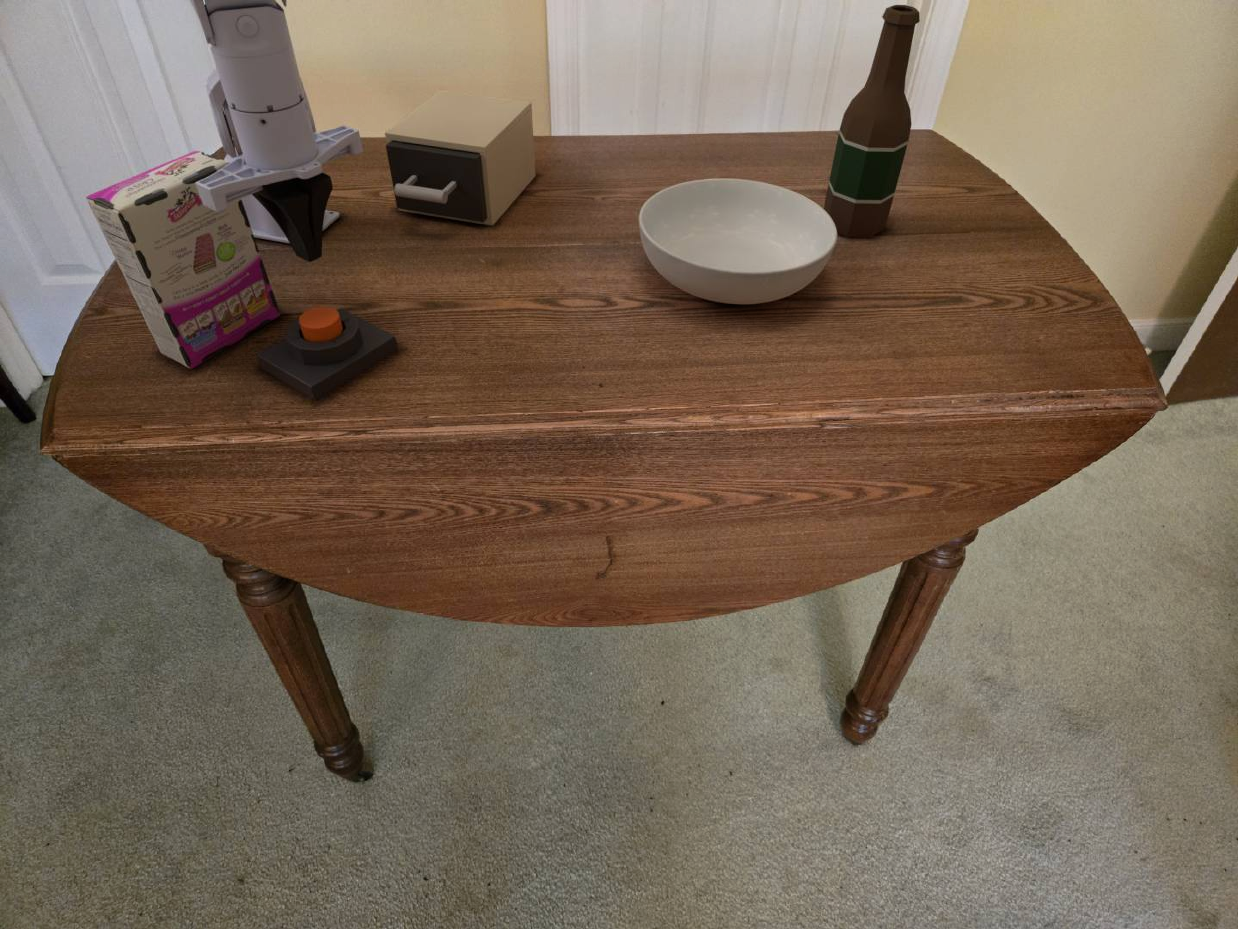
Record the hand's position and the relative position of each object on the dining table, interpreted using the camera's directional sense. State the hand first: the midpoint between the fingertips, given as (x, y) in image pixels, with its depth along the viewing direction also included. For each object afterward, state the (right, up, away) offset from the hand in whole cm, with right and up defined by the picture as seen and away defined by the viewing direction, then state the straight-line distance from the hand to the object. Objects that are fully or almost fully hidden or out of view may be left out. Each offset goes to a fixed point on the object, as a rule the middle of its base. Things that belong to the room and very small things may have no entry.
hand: (309, 255), depth 73 cm
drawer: (+7, +14, +29) cm, 33 cm away
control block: (0, -9, +6) cm, 10 cm away
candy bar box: (-12, -6, +8) cm, 16 cm away
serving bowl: (+40, +2, +18) cm, 44 cm away
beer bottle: (+57, +11, +27) cm, 64 cm away
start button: (0, -6, +4) cm, 7 cm away
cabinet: (+9, +16, +32) cm, 37 cm away
